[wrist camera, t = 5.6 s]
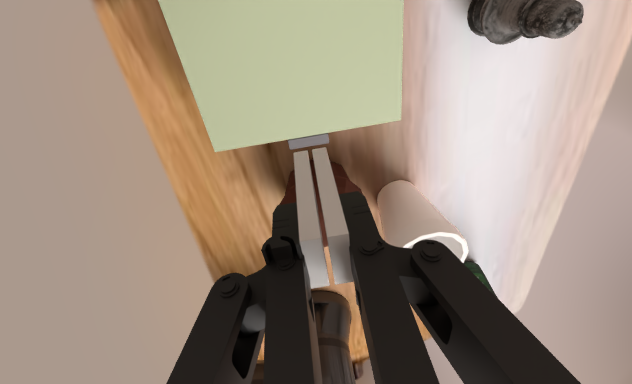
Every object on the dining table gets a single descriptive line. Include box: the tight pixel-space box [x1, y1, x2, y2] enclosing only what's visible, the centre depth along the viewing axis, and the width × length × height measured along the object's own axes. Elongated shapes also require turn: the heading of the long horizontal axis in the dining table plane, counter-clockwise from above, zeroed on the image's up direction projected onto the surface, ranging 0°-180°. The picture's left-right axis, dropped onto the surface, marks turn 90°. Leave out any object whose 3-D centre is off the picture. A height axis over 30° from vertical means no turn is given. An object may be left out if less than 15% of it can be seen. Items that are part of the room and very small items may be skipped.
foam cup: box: [377, 180, 469, 263], centre depth 41 cm, size 10×9×13 cm
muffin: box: [279, 160, 363, 247], centre depth 40 cm, size 12×11×10 cm
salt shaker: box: [468, 0, 583, 44], centre depth 28 cm, size 6×6×12 cm
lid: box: [158, 0, 404, 152], centre depth 26 cm, size 15×18×2 cm
